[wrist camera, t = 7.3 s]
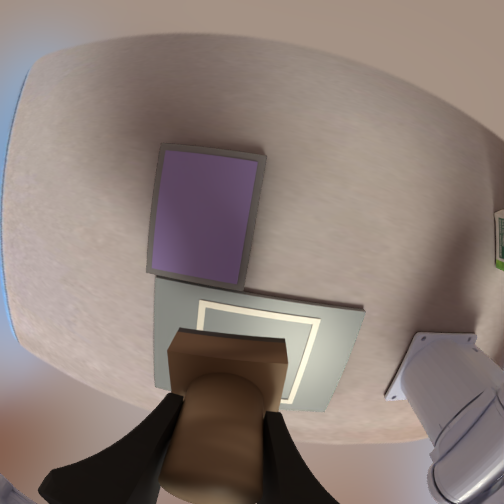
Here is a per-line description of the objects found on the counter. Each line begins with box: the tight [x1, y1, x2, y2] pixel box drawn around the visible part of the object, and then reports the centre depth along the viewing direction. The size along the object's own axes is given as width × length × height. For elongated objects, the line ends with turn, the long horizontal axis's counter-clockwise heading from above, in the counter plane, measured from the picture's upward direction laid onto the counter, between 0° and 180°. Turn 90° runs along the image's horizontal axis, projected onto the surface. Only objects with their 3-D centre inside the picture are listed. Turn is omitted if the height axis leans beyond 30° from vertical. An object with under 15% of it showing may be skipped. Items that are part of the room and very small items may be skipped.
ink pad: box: [146, 143, 267, 291], centre depth 18 cm, size 7×9×1 cm
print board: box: [154, 275, 366, 412], centre depth 21 cm, size 16×11×1 cm
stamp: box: [158, 327, 288, 504], centre depth 10 cm, size 5×5×7 cm
